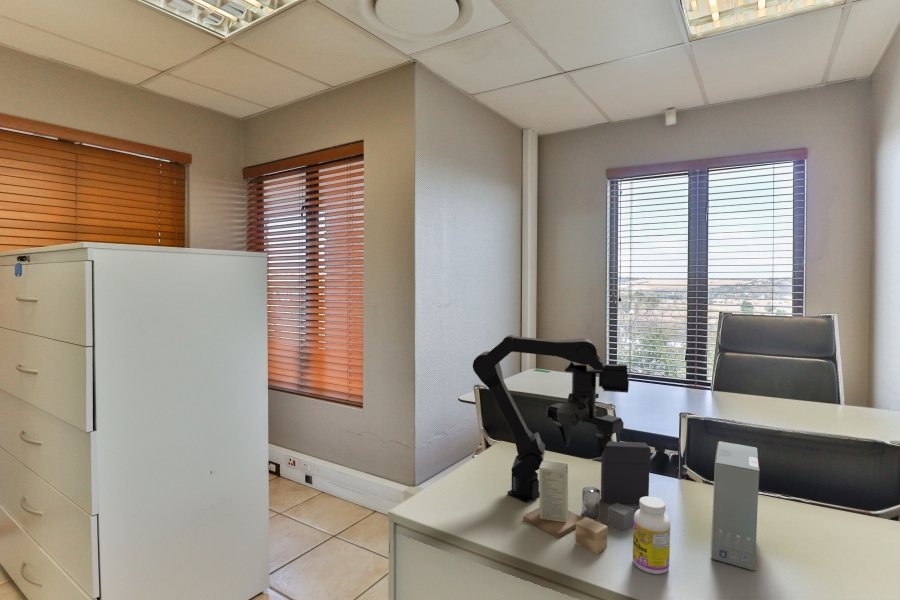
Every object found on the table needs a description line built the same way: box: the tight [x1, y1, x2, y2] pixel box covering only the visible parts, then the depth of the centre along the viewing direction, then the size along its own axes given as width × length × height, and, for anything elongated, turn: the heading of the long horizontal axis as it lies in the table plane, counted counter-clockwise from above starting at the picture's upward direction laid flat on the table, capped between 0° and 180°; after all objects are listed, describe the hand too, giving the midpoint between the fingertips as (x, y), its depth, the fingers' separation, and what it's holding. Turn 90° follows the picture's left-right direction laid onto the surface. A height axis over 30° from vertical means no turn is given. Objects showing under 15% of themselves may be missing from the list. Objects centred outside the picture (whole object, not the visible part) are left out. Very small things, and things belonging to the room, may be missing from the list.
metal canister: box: [581, 486, 601, 520], centre depth 111 cm, size 4×4×6 cm
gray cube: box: [607, 503, 634, 533], centre depth 106 cm, size 4×4×4 cm
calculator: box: [600, 440, 652, 506], centre depth 117 cm, size 11×4×15 cm, turn 84°
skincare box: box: [538, 460, 569, 522], centre depth 108 cm, size 6×4×12 cm
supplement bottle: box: [632, 495, 671, 575], centre depth 92 cm, size 7×7×13 cm
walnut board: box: [522, 506, 585, 539], centre depth 108 cm, size 10×10×1 cm
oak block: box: [575, 517, 608, 555], centre depth 99 cm, size 5×4×4 cm
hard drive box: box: [710, 440, 760, 571], centre depth 98 cm, size 16×8×20 cm, turn 148°
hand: (582, 451), depth 117 cm, fingers open, 9 cm apart
